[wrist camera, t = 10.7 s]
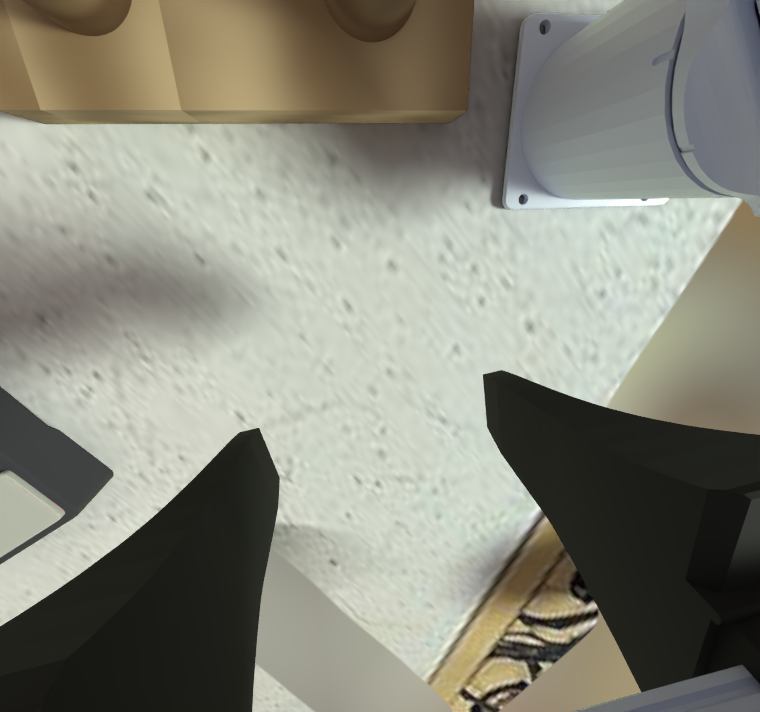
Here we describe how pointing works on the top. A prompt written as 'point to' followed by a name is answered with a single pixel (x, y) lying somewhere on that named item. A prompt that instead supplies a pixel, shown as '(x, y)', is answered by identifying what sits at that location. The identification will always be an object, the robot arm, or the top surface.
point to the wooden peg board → (235, 61)
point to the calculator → (40, 478)
